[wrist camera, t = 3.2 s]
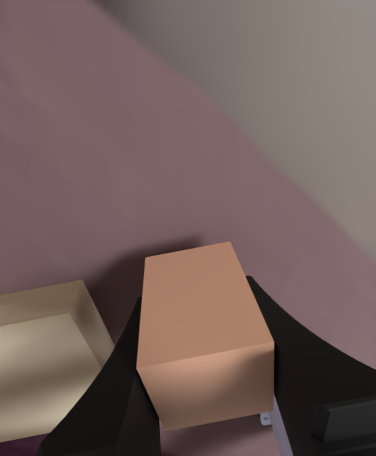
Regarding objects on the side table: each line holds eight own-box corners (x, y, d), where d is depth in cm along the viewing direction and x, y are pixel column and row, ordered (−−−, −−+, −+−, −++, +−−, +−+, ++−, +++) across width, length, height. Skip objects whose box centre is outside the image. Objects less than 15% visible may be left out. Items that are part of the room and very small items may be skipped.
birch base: (133, 378, 23) (129, 416, 20) (-1, 404, 23) (-22, 446, 20) (83, 276, 17) (69, 313, 14) (-101, 311, 16) (-149, 355, 14)
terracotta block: (235, 301, 16) (273, 411, 10) (163, 315, 16) (165, 431, 10) (229, 241, 13) (274, 342, 8) (145, 257, 13) (136, 368, 8)
